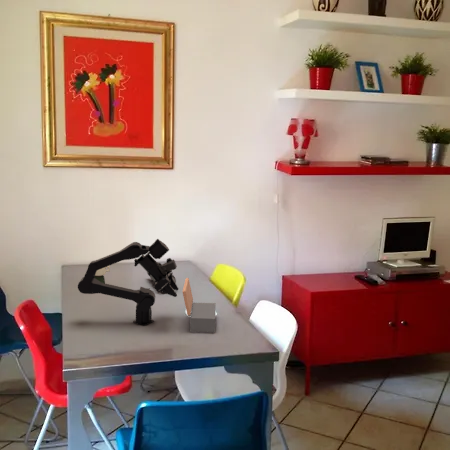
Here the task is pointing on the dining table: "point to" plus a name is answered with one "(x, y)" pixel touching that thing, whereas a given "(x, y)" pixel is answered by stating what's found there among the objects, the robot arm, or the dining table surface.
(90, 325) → the dining table surface
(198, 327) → the cable box
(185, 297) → the lid
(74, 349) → the dining table surface
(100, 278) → the trophy cup
